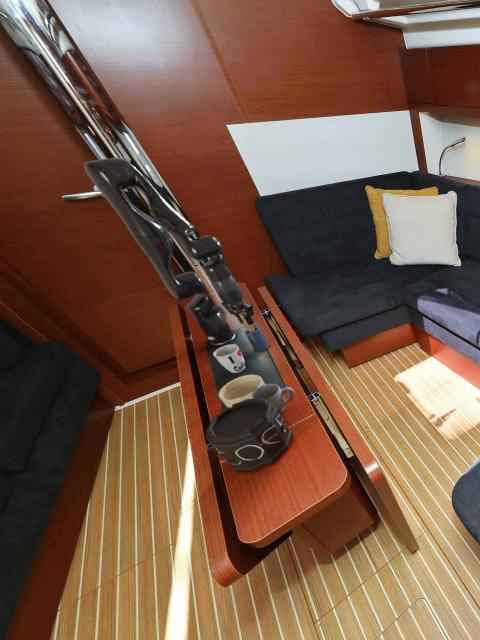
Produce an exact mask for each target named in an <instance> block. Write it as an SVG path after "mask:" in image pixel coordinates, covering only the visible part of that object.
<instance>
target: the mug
mask: <svg viewBox="0 0 480 640" xmlns="http://www.w3.org/2000/svg"><path fill="white" fill-rule="evenodd" d="M265 384H266V385H263V386H260V387H258V388H257V389H255V390H254V391H253V392H252V393H251V395H250V399H264V400H267V401H270V402H271V403H272V404H273V405H274V406H275V407H276V408H277V409H278V411H277V412H278V414H279V415H281V414H282V413H283V412H284V411H285V408H286V407H285V405H286V404H288V403H290V402H291V401H293V399H294V397H295V391H294V389H293V388H292V387H290V386H289V387H288V386H287V387H284V388H281V387H280V386H279V385H278V384H277V383H265ZM288 392H289V397H288V398H287V399H285V396H284V394H286V393H288Z"/></svg>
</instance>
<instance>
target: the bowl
mask: <svg viewBox="0 0 480 640" xmlns="http://www.w3.org/2000/svg"><path fill="white" fill-rule="evenodd" d="M266 384H267V383H265V381H264V379H263V378H262V376H260V375H258V374H245V375H242V376H239V377H237V378H234V379H232V380H231V381H229V382H227V383H226V384H224V385H223V386H222V387H221V388H220V390H219V391H218V398H219V399H220V401H221V402H222V403H223V405H224V406H225V408H227V407H232V404H235V403H238V402H241V401H244V400H247V399H250V395H251V393H252V392H253V391H254V390H255V389H257V388H258V387H260V386H263V385H266Z"/></svg>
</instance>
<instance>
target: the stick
mask: <svg viewBox="0 0 480 640" xmlns="http://www.w3.org/2000/svg"><path fill="white" fill-rule="evenodd" d="M245 315H246V312H245ZM239 316H240V317H241V319H242V321H243V322H244V324H243V325H244V326H245V327H246V330H247V329H248V331H249V333H252V332H255V329H254V327H255V326H254V325H253V324H252V325H248V323H247V322H246V320H245V318H244V317H243V315H242V314H239Z"/></svg>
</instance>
